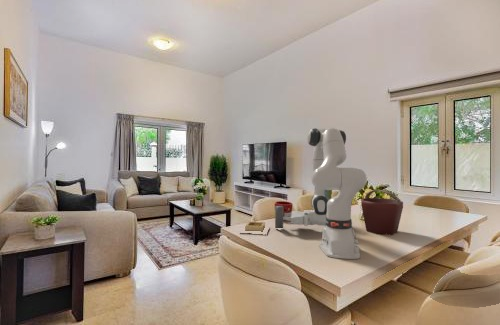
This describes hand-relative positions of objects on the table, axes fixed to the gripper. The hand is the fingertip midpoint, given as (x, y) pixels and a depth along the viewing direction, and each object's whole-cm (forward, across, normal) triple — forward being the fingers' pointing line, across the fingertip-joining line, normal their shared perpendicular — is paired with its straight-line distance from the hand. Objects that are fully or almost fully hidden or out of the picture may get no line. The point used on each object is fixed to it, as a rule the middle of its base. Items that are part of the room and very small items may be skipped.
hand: (283, 216), depth 154 cm
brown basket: (-57, -7, +8) cm, 58 cm away
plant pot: (+2, -29, +8) cm, 30 cm away
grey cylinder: (+3, 0, +8) cm, 8 cm away
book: (-26, -25, +8) cm, 37 cm away
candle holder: (+17, +6, +8) cm, 20 cm away
